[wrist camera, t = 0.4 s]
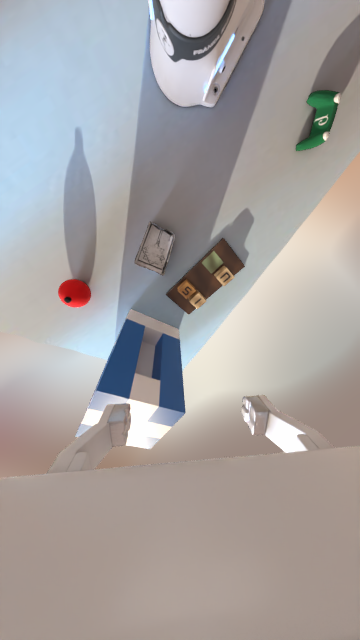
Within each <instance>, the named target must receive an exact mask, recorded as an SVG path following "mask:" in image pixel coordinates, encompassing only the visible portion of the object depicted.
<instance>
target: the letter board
mask: <svg viewBox="0 0 360 640" xmlns="http://www.w3.org/2000/svg"><path fill="white" fill-rule="evenodd" d="M243 267H245V266H244V264H243V263H242V262H241V260H240V259H239V258H238V257H237V255H236V254H235V253H234V251H233V250H232V249H231V247H230V246H229V245H228V243H227V242H226V241H225V239H224V238H222V239H221V240H220V241H219V242H218V243H217V244H216V245H215V246H214V247H213V248H212V249H211V250H210V251H209V252H208V253H207V254H206V255H205V256H204V257H203V258H202V259H201V260H200V261H199V262H198V263H197V264H196V265H195V266H194V267H193V268H192V269H191V270H190V271H189V272H188V273H187V274H186V275H185V276H184V277H183V278H182V279H181V280H180V281H179V282H178V283H177V284H176V285H174V286H173V287H172V288H171V289H170V290H169V291H168V292H167V293H166V295H167V296H168V297H169V298H170V299H171V300H173V301H174V302H175V303H176V304H177V305H178V306H179V307H181V308H182V309H183V310H184V311H185V312H186V313H187V314H190V313H191V312H192V311H193V310H195V309H196V308H197V309H198V308H199V307H200V306H201V305H203V304H204V303H205V302H206V299H207V298H208V297H210V296H211V295H212V294H213V293H214V292H215V291H217V290H218V289H219V288H220V287H221V286H222V285H223V286H225V285H226V284H227V283H228V282H230V281H231V280H232V279H233V278H234V275H235V274H236V273H238V272H239V271H240V270H241V269H242V268H243ZM186 279H187V280H188V281H189V282H190V283H191V284H192V285H193V286H194V287H195V289H196V291H195V292H194V293H193V294H192V295H191V296H190V297H189V298H187V299H186V298H185V297H184V296H183V295H182V294H180V293H179V292H178V287H179V286H180V285H181V284H182V283H183V282H184V281H185V280H186Z"/></svg>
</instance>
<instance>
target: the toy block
mask: <svg viewBox="0 0 360 640" xmlns="http://www.w3.org/2000/svg"><path fill="white" fill-rule="evenodd" d="M128 403H129V404H130V407H131V409H130V413H131V427H130V430H129V431H128V439H127V443H126V445H129V446H135V447H141V448H148V449H151V448H152V447H153V446H154V445H155V444H156V443H157V442H158V441H159V440H160V439H161V438H162V437H163V436H164V435H165V434H166V432H167V431H168V430H169V429H170V428H171V427H172V426H173V425H174V424H175V423H176V422H177V421H178V420H179V419H180V418H181V417H182V416H183V415H184V414H185V401H184V389H183V376H182V364H181V351H180V338H179V329H177V328H175V327H173V326H170V325H168V324H166V323H163V322H161V321H158V320H156V319H154V318H151V317H149V316H146V315H144V314H142V313H139V312H137V311H135V310H132V309H130V311H129V313H128V315H127V317H126V320H125V322H124V324H123V326H122V329H121V331H120V333H119V335H118V338H117V340H116V342H115V344H114V347H113V349H112V351H111V354H110V356H109V358H108V361H107V363H106V365H105V368H104V370H103V372H102V375H101V377H100V379H99V382H98V384H97V387H96V389H95V391H94V394H93V396H92V398H91V400H90V403H89V405H88V407H87V410H86V412H85V415H84V417H83V419H82V422H81V424H80V426H79V429H78V431H77V433H76V437H80V436H81V435H82V434H83V433H85V432H86V431H87V430H88V429H90V428H91V427H92V426H93V425H95V424H98V422H99V420H100V418H101V416H102V414H103V411H104V409H105V407H106V406H107V405H108V404H128Z"/></svg>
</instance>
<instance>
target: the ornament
mask: <svg viewBox="0 0 360 640" xmlns="http://www.w3.org/2000/svg"><path fill="white" fill-rule="evenodd" d="M58 294H59V297H60V299H61V301H62V302H63V303H65V304H66V305H68V306H70V307H81V306H84V305H85V304H87V303H88V301H89V300H90V297H91V291H90V289H89V287H88V286H87V285H86V284H85V283H84V282H82V281H80V280H76V279H71V280H67V281H65V282H63V283H62V284H61V285H60V287H59V290H58Z"/></svg>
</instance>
